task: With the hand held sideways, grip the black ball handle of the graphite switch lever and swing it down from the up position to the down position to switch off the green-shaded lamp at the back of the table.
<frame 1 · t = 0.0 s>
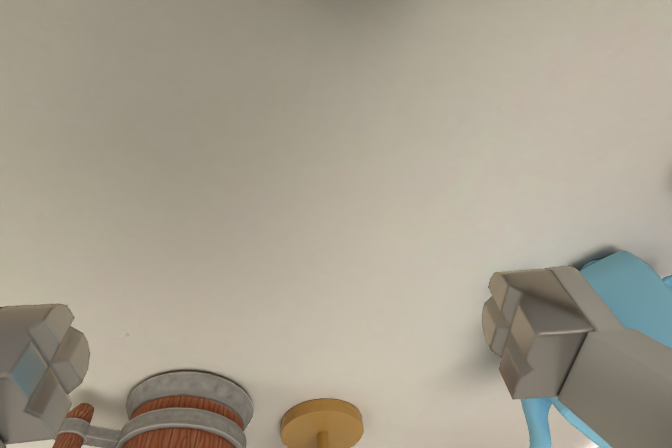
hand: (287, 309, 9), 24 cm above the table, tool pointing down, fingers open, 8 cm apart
teapot: (561, 309, 45), on the table
mug: (169, 399, 49), on the table
lamp: (321, 422, 54), on the table
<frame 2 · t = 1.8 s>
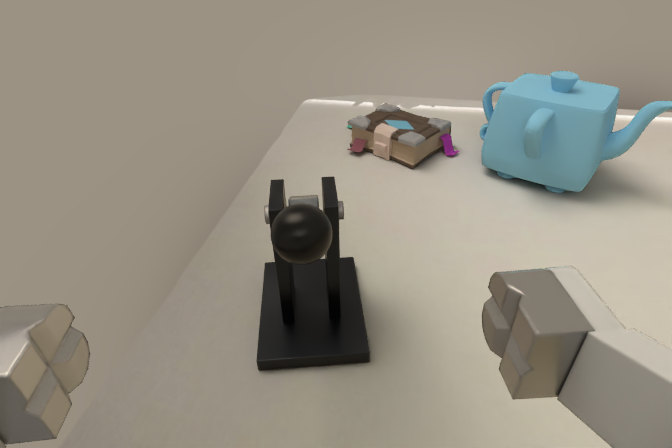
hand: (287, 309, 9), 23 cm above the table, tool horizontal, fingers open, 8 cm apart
book: (387, 147, 68), on the table
lever: (303, 221, 28), point 14 cm above the table, hinge at 28.0°
teapot: (549, 175, 60), on the table
switch bracket: (311, 311, 40), on the table
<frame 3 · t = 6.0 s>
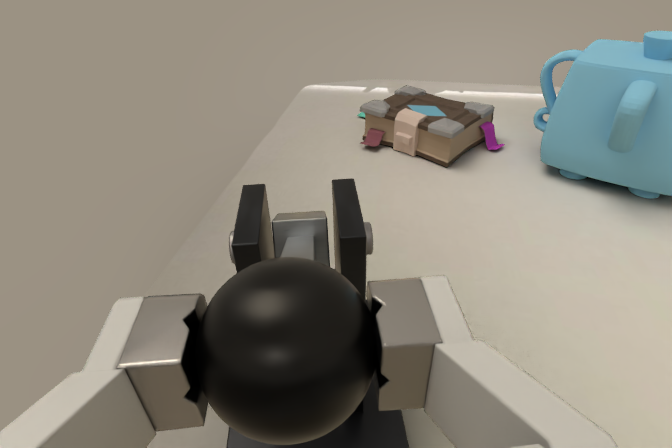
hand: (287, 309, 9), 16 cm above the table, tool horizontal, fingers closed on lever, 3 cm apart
book: (410, 139, 53), on the table
lever: (297, 273, 13), point 14 cm above the table, hinge at 28.0°, touching gripper
teapot: (630, 175, 45), on the table
switch bracket: (315, 392, 25), on the table
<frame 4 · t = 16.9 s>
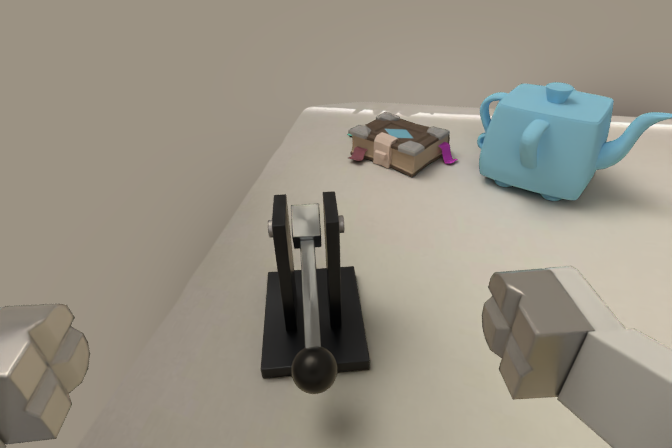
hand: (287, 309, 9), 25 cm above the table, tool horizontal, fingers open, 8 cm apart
book: (387, 155, 69), on the table
lever: (310, 294, 32), point 8 cm above the table, hinge at -29.8°
teapot: (545, 183, 61), on the table
switch bracket: (313, 320, 41), on the table
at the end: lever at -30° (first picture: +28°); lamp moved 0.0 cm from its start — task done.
